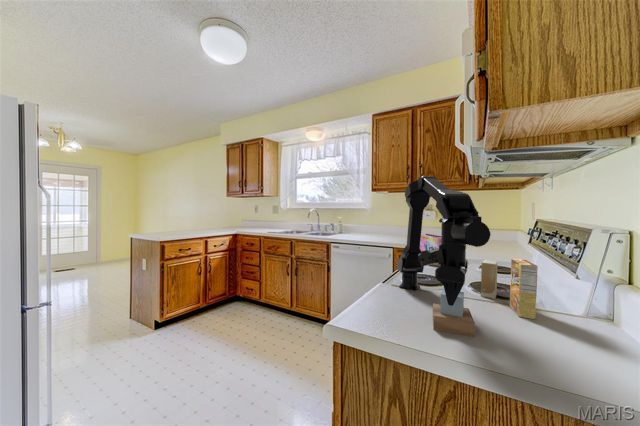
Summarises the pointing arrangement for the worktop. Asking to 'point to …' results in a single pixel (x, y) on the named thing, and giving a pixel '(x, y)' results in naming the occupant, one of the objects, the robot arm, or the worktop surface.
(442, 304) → the slate cube
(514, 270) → the candy box
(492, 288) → the skincare box
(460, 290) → the robot arm
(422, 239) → the gum box
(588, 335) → the worktop surface
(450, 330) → the walnut block
